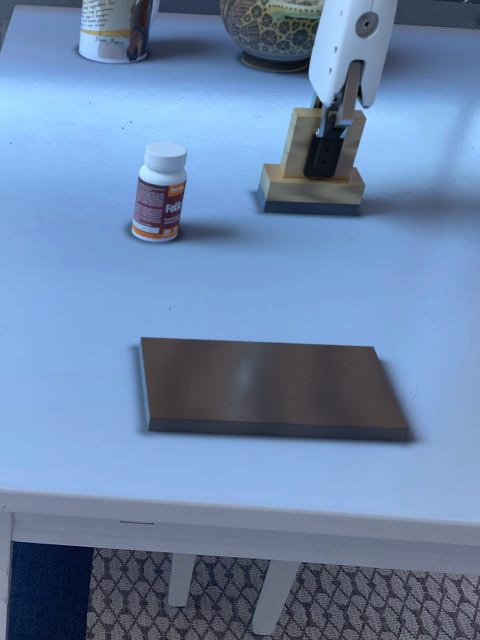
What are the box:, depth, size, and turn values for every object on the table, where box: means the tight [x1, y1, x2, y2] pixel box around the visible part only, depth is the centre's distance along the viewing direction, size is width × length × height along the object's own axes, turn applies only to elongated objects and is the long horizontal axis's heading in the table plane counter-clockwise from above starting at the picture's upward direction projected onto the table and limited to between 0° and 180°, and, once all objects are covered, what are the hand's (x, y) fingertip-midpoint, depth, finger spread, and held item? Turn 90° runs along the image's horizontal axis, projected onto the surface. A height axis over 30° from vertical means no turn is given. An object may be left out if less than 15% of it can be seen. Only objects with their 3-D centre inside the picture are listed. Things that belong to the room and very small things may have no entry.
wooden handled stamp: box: [256, 107, 367, 217], centre depth 99 cm, size 10×5×10 cm, turn 88°
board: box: [138, 336, 409, 442], centre depth 77 cm, size 20×12×2 cm, turn 88°
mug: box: [78, 0, 161, 64], centre depth 132 cm, size 10×12×11 cm
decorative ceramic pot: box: [219, 0, 325, 73], centre depth 129 cm, size 24×18×15 cm
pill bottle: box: [131, 140, 188, 243], centre depth 94 cm, size 5×5×8 cm
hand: (315, 168), depth 99 cm, fingers closed on wooden handled stamp, 2 cm apart
